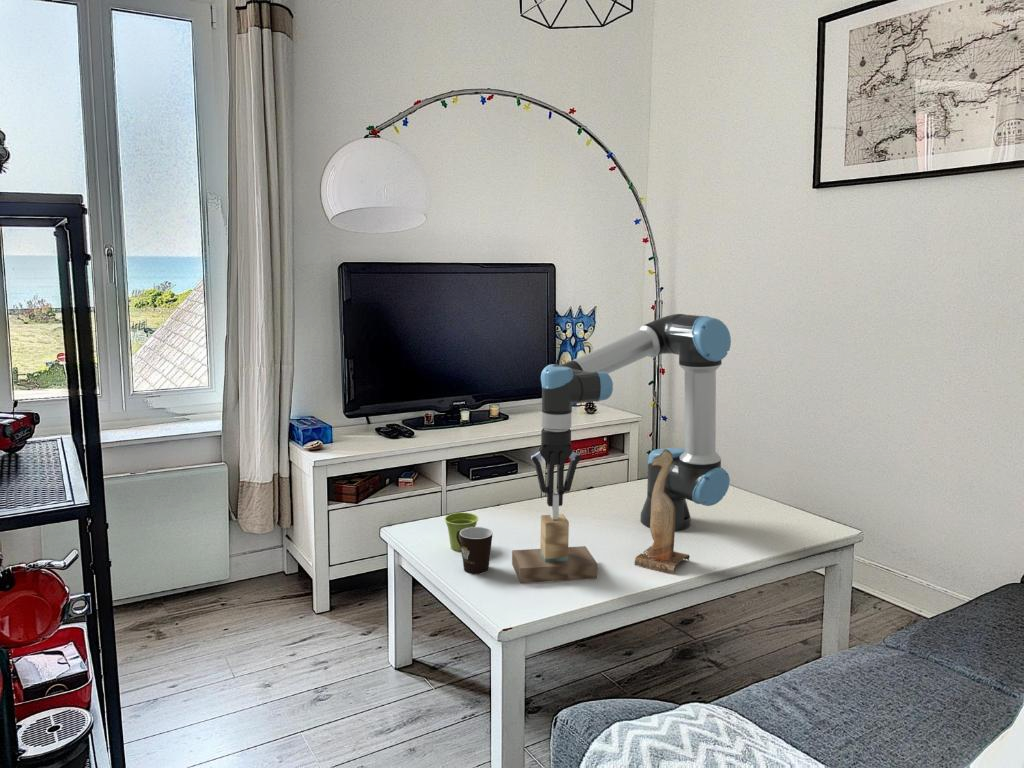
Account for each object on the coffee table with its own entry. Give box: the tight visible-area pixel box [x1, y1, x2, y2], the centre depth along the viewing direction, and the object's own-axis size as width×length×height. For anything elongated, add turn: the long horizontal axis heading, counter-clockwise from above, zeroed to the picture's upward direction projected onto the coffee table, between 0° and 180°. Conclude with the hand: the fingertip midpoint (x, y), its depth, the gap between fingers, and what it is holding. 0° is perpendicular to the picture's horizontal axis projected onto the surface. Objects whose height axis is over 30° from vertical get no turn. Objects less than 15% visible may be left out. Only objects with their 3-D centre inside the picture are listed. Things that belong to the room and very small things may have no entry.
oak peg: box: [540, 513, 570, 562], centre depth 203 cm, size 6×6×14 cm
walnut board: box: [511, 545, 599, 584], centre depth 204 cm, size 20×12×4 cm, turn 100°
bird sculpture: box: [634, 449, 690, 575], centre depth 208 cm, size 11×12×32 cm
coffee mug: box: [456, 526, 494, 575], centre depth 206 cm, size 12×9×10 cm
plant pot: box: [444, 512, 479, 552], centre depth 220 cm, size 9×9×9 cm
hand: (554, 517), depth 202 cm, fingers closed
